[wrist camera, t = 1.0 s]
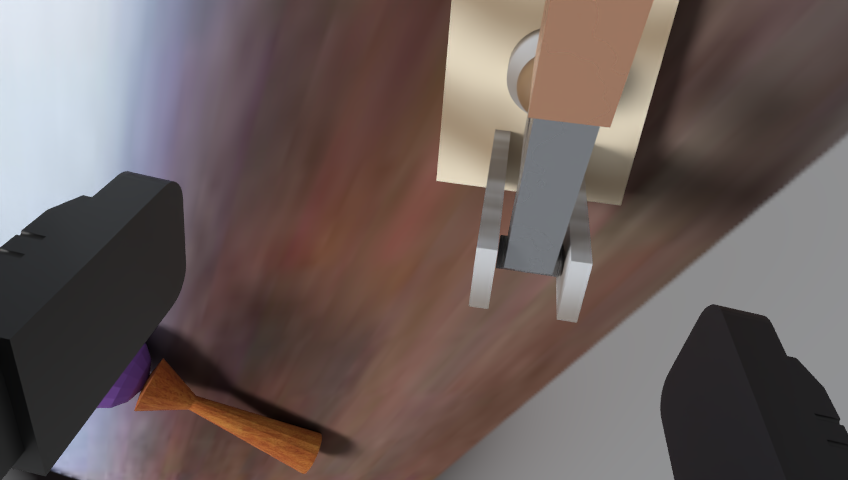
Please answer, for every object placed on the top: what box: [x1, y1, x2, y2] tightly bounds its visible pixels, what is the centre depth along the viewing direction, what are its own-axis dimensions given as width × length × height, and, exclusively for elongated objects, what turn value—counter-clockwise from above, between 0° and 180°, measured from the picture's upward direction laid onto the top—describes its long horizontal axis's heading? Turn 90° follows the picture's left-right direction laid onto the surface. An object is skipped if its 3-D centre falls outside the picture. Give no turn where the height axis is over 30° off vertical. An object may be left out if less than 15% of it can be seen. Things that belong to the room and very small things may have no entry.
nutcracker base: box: [437, 0, 679, 322], centre depth 26 cm, size 20×10×12 cm, turn 176°
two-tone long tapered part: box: [97, 343, 322, 474], centre depth 49 cm, size 6×6×20 cm
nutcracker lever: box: [496, 0, 654, 277], centre depth 21 cm, size 17×3×4 cm, turn 176°
